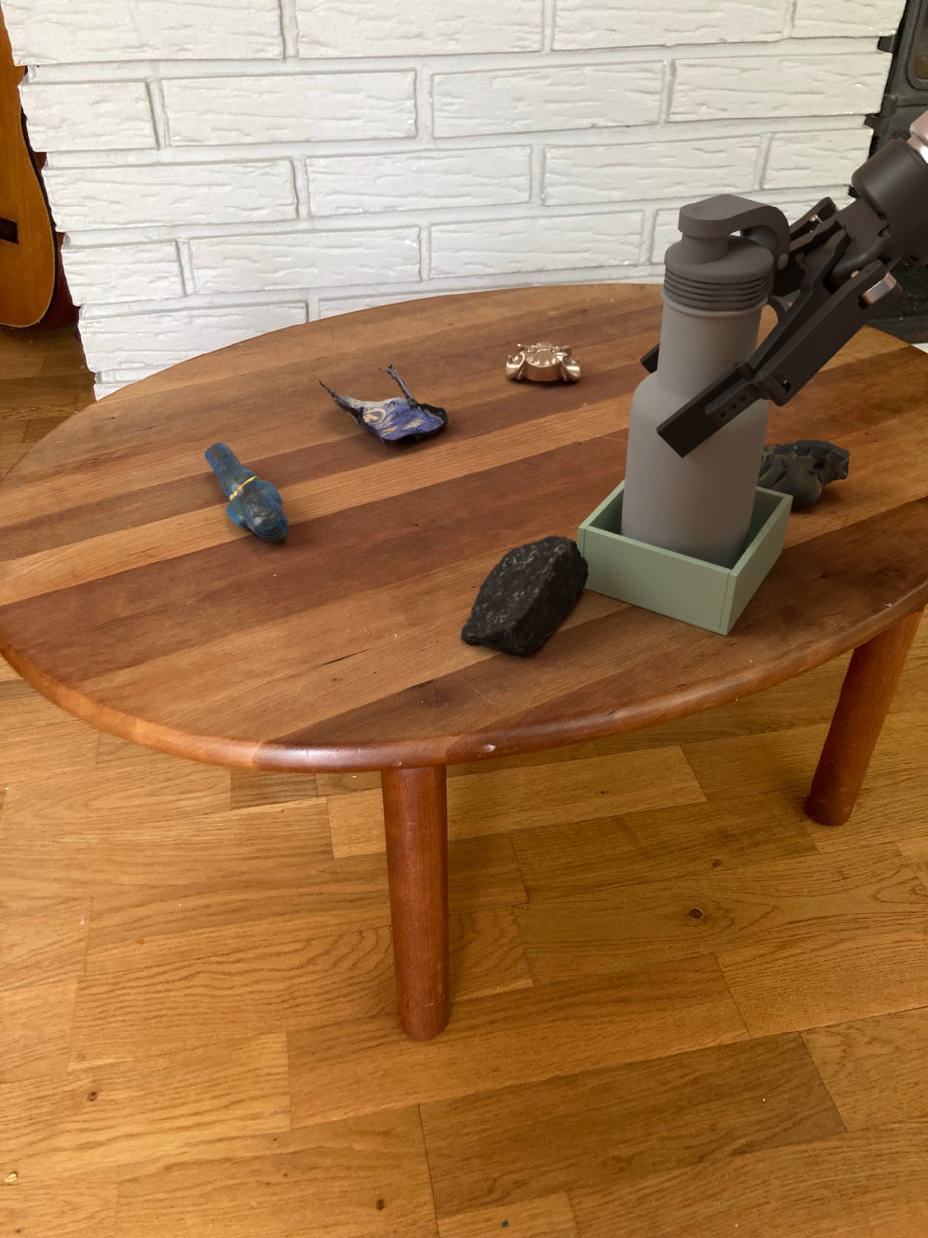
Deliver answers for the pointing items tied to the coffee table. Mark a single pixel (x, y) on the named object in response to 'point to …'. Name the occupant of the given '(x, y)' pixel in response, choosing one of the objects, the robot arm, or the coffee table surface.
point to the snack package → (393, 414)
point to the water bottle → (705, 381)
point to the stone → (802, 469)
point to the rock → (527, 595)
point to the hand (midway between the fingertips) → (659, 406)
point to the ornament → (543, 363)
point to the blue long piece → (248, 495)
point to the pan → (681, 565)
